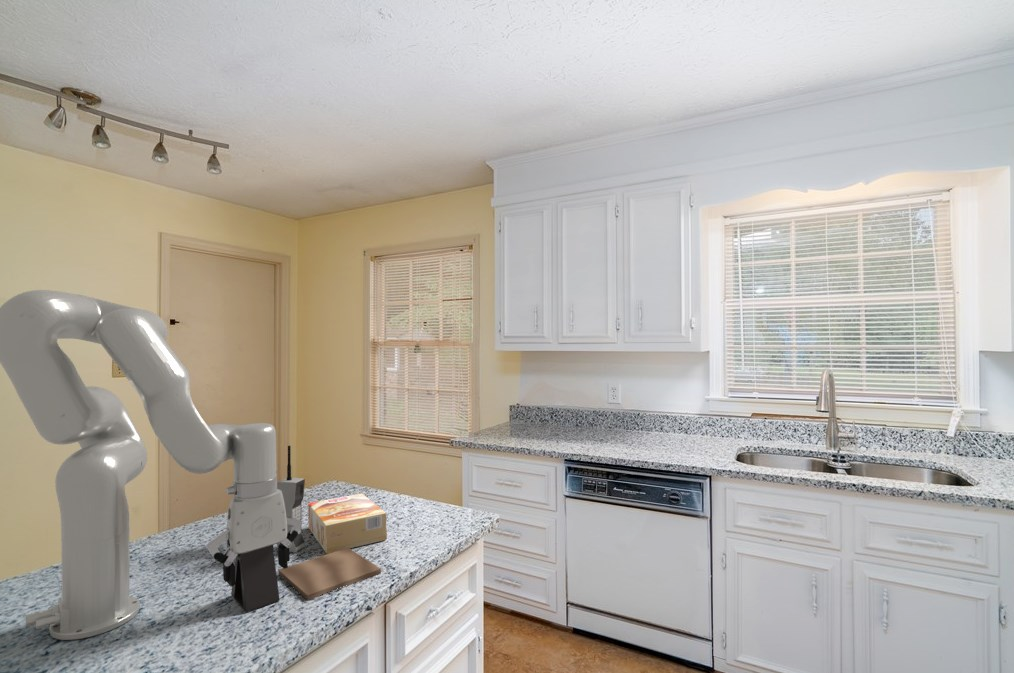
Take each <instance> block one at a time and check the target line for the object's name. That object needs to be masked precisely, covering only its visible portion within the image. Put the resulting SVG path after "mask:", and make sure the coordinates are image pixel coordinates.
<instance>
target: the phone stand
mask: <svg viewBox="0 0 1014 673" xmlns="http://www.w3.org/2000/svg"><path fill="white" fill-rule="evenodd" d="M274 545H275V544H274ZM274 545H271V546H268V547H264V548H261V549H258V550H254V551H251V552H247V553H243V554H238V555H237V556H236V558H235V561H234V565H235V585H234V586H231V592H230V593H231V598H233V600H235V602H236V604H238V605H239V607H240V608H241V610H242V611H244V612H245V614H247V613H249V612H252V611H256V610H258V609H261V608H264V607H266V606H269V605H272V604H274V603H277V602H280V593H279V585H278V576H277V569H276V560H275V550H274V547H275V546H274Z"/></svg>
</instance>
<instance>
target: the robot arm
mask: <svg viewBox="0 0 1014 673" xmlns="http://www.w3.org/2000/svg"><path fill="white" fill-rule="evenodd" d="M167 338H168V327H167V324H166V322H165V321H164V320H163V318H161V317H160V316H159V315H158V314H157V313H154V312H152V311H149V310H145V309H141V308H136V307H130V306H126V305H122V304H119V303H115V302H111V301H107V300H103V299H99V298H95V297H93V296H92V297H91V296H88V295H81V294H77V293H69V292H63V291H57V290H50V289H35V290H28V291H25V292H22V293H18V294H17V295H14V296H12V297H11V298H9V299H8V300H6V301H5V302H4V303H3V304H2V305H1V306H0V365H1V366H2V368H3V370H4V371H5V373H6V375H7V376H8V378H9V380H10V381H11V383H12V385H13V387H14V389H15V391H16V393H17V396H18V397H19V399H20V401H21V403H22V404H23V406H24V408H25V411H26V413H27V414H28V416H29V418H30V420H31V422H32V423H33V426H34V427H35V429H36V431H37V432H38V434H39V436H40V437H41V438H42V439H44V440H45V441H46V442H48V443H50V444H54V445H59V446H60V445H63V446H64V445H70V444H74V443H78V444H79V446H80V449H78V450H76V451H75V452H73V453H72V454H71V455H68V457H67V458H66V459H65V460H64V461H63V462H62V463H61V465H60V466H59V468H58V470H57V472H56V476H55V486H54V487H55V493H56V497H57V502H58V507H59V513H60V531H61V532H60V533H61V534H60V536H61V537H60V538H61V540H60V541H61V598H59V599H57V604H55V605H53V606H50V608H49V609H47V610H46V609H45V610H44V611H43V610H42V611H37V612H34V613H30V614H27V615H26V614H25V628H30V627H33V626H35V630H39V629H41V628H45V627H46V628H47V626H49V635H50V636H51V637H52V638H54V639H56V640H60V641H61V640H62V641H63V640H64V641H70V640H71V641H73V640H81V639H85V638H90V637H95V636H98V635H101V634H104V633H107V632H109V631H111V630H115V629H116V628H118V627H121V626H123V625H124V624H126V623H128V622H129V621H131V620H132V619H133V618H134V617H135V616H136V615H137V614H138V613H139V611H140V609H141V601H140V600H139V599H138V598H136V597H133V596H131V595H130V510H129V502H128V499H127V496H126V495H127V494H126V490H125V489H126V488H125V486H126V485H127V484H128V483H129V482H131V481H133V480H135V479H136V478H137V477H138V476H139V475H141V473H142V472H143V471H144V469H145V467H146V465H147V461H148V452H147V447H146V445H145V443H144V441H143V438H142V437H141V435H140V433H139V432H138V429H137V428H136V426H135V424H134V422H133V420H132V418H131V416H130V414H129V413H128V411H127V408H126V407H125V405H124V403H123V401H121V400H120V398H119V397H118V396H117V395H116V394H114V393H113V392H112V391H110V390H108V389H106V388H104V387H99V386H90V385H89V386H86V384H85V383H84V381H83V379H82V377H81V375H79V372H78V370H77V368H76V365H75V364H74V363H73V361H72V360H71V358H70V357H69V356H68V355H67V354H66V353H65V352H64V350H63V349H62V348H61V347H60V345H59V342H58V340H59V339H61V340H62V339H67V340H68V339H73V340H80V341H86V342H89V343H94V344H98V345H99V344H100V345H101V346H102V348H103V349H104V350H105V351H106V353H107V354H108V356H110V358H111V360H112V361H113V362H114V363H115V364H116V365H117V367H118V369H119V370H120V371H121V373H123V375H124V377H125V378H126V379H127V381H129V383H130V384H131V386H132V387H133V388H134V389H135V392H137V394H138V395H139V396H140V398H141V401H142V404H143V408H144V411H145V414H146V415H147V419H148V421H149V424H150V426H151V429H152V430H153V432H154V434H155V436H156V437H157V439H158V440H159V442H160V443H161V445H162V446H163V447H164V449H166V451H167V452H168V453H169V455H170V457H172V459H173V460H174V461H175V463H177V465H179V466H180V467H181V468H182V469H184V470H185V471H187V472H189V473H191V474H196V475H197V474H198V475H200V474H201V475H202V474H208V473H209V472H212V471H214V470H215V469H216V468H219V467H220V465H221V464H223V463H225V462H226V461H229V460H232V461H233V481H232V484H231V486H230V487H229V486H228V487H225V495H226V496H227V495H233V496H232V497H231V498H230V500H229V505H228V512H227V517H226V518H227V520H226V530H225V531H223V532H222V533H221V534H219V535H218V536H217V537H215V538H214V539H212V540H211V541H210V542H208V543H207V544H206V545H205V548H206V549H207V551H208V552H209V553H210V555H211V557H212V558H213V559H214V560H215V561H217V562H219V563H221V564H222V571H223V572H222V575H223V576H222V578H223V581H224V582H225V583H226V582H227V583H226V584H228V585H229V586H230V587H232V586H234V585H235V563H234V562H235V561H234V560H236V556H237V555H238V554H243V553H247V552H251V551H254V550H258V549H261V548H264V547H268V546H271V545H277V543H280V545H279V546H278V550H277V556H278V557H277V562H278V565H279V566H280V568H281V569H282V568H284V569H285V568H288V567H289V565H288V562H290V552H289V547H291V545H292V542H293V541H294V539H295V538H296V537H297V535H298V531H299V529H300V527H301V525H303V520H302V521H301V520H299V519H295V518H291V517H287V516H286V511H285V504H284V499H283V494H282V491H281V490H279V489H277V483H278V478H277V475H278V472H277V471H278V469H277V467H278V466H277V434H276V433H277V430H276V428H275V426H274V425H273V424H272V423H268V422H256V423H247V424H242V425H241V424H225V423H215V424H214V423H211V424H207V423H206V421H205V420H204V419H203V417H202V416H201V414H200V413H199V411H198V410H197V407H196V405H195V404H194V402H193V399H192V396H191V388H190V387H191V386H190V385H191V377H190V376H191V375H190V373H189V371H188V370H187V368H186V367H185V365H184V364H183V363H182V361H181V360H180V358H179V357H178V356H177V355H176V353H175V352H174V350H173V349H172V348H171V347H170V345H169V344H168V342H167ZM221 466H222V465H221ZM287 524H289V525H292V529H291V530H290V531H289V532H288V534H287ZM225 542H226V546H227V549H225V552H224V553H222V552H220V551H219V547H220V546H221V545H222V544H224V543H225Z"/></svg>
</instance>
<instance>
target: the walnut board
mask: <svg viewBox="0 0 1014 673" xmlns="http://www.w3.org/2000/svg"><path fill="white" fill-rule="evenodd" d="M380 574H382V568H381V567H379V566H377V565H375V563H373V562H371V561H370V560H368V559H366V558H365V557H363V556H361V555H360V554H358V553H357V552H356V551H354V550H352V548H350V549H349V548H346V549H342V550H339V551H336V552H333V553H329V554H327V553H326V554H324V555H320V556H317V557H315V558H312V559H308V560H306V561H302V562H299V563H295V564H292V565H288V568H285V569H284V568H282V567H281V568H280V569H278V575H279V576H280V577H281V578H282V579H283V580H284V581H285V582H287V583H288V585H290V586H291V587H292V588H293V589H294V590H295V591H297V593H299V594H300V595H301V596H302V597H303V598H304V599H306V601H310V600H313V599H315V597H316V598H319V597H321V596H323V595H322V594H324V595H326V594H328V593H327V592H329V593H331V592H330V591H332V590H334V591H336V590H335V589H337V588H340V587H343V586H345V587H347V586H346V585H348V586H350V585H349V584H351V585H353V584H356V583H358V581H359V582H361V581H363V580H366V579H369V578H372V577H375V576H377V575H380ZM355 582H356V583H355ZM352 583H353V584H352ZM343 588H344V587H343ZM340 589H341V588H340ZM337 590H338V589H337ZM332 592H333V591H332ZM325 593H326V594H325ZM320 595H321V596H320Z"/></svg>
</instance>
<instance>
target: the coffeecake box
mask: <svg viewBox="0 0 1014 673" xmlns="http://www.w3.org/2000/svg"><path fill="white" fill-rule="evenodd" d="M307 512H308V517H307V518H308V529H309V531H310V532H311V533H312V535H313V536H314V538H315V539H316V541H317V542H318V543H319V545H320V546H321V548H322V549H323V551H324V552H325V553H326V555H327V554H330V553H333V552H336V551H339V550H342V549H346V548H349V549H353V548H357V547H361V546H365V545H369V544H373V543H377V542H381V541H385V540H387V539H388V534H387V532H388V531H387V530H388V529H387V512H385V511H384V510H383V509H382V508H380V506H378V505H377V504H376V503H375V502H374V501H372V500H371V499H370V498H368V497H367V496H366V495H365V494H364V493H359V494H358V493H357V494H351V495H345V496H340V497H335V498H329V499H324V500H317V501H314V502H309V503H308V504H307Z"/></svg>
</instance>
